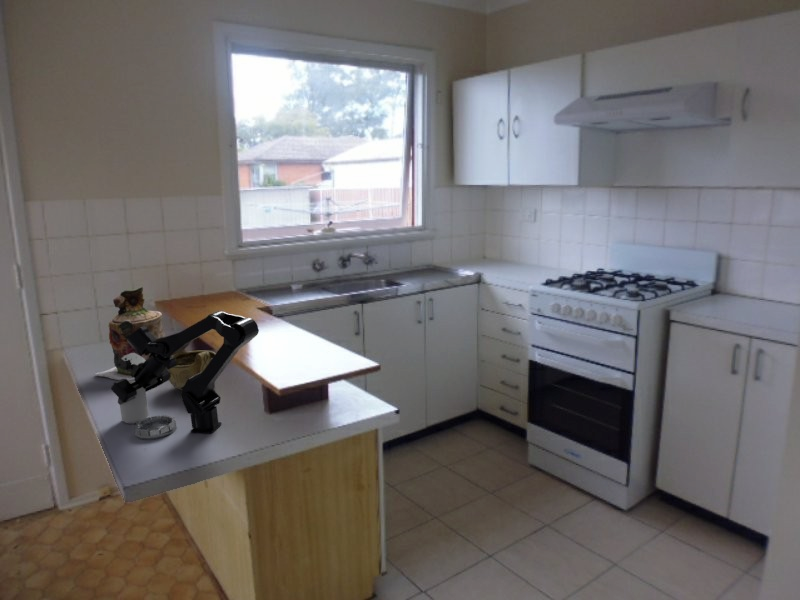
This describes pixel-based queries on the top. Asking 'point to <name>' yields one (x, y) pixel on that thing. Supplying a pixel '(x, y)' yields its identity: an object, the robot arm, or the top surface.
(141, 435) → the rosette plate
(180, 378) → the ceramic bowl
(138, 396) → the can
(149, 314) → the cookie jar
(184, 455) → the top surface
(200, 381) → the robot arm
